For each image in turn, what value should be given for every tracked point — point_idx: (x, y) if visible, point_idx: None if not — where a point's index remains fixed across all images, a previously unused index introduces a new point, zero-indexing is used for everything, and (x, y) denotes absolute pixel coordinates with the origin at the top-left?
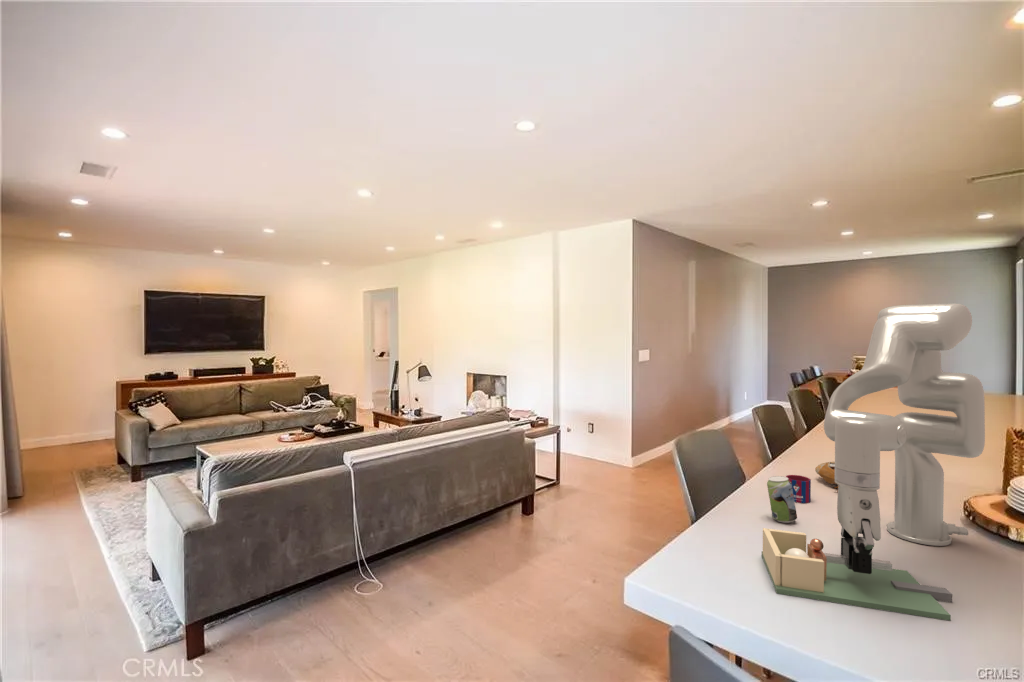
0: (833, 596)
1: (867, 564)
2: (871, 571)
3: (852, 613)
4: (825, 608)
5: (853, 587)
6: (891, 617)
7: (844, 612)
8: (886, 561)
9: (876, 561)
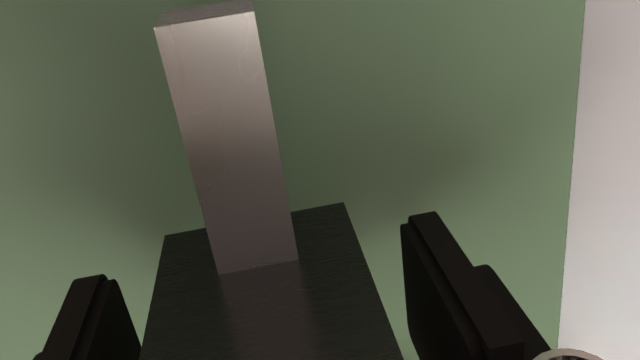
0: (549, 336)
1: (510, 300)
2: (439, 218)
3: (634, 245)
4: (613, 345)
5: (385, 240)
6: (633, 58)
7: (632, 277)
8: (187, 67)
9: (257, 178)
